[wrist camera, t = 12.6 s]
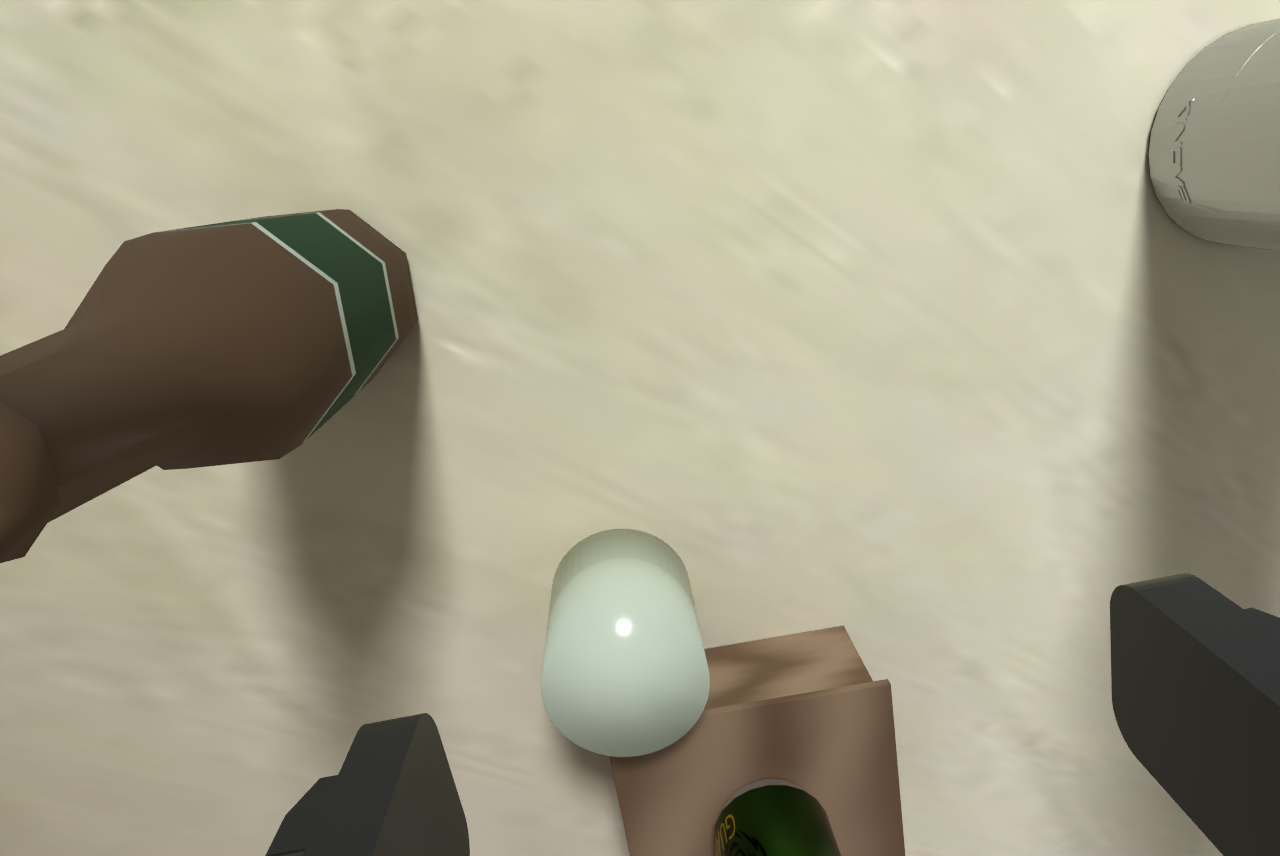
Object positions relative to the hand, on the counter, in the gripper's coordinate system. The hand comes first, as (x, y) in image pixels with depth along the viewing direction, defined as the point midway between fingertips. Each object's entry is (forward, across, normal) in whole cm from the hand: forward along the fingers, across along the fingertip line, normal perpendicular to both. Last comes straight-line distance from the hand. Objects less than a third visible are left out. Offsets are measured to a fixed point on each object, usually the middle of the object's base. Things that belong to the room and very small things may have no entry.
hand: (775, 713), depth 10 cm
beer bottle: (+30, +14, -3) cm, 33 cm away
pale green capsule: (+30, +4, +14) cm, 33 cm away
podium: (+30, -1, +24) cm, 38 cm away
